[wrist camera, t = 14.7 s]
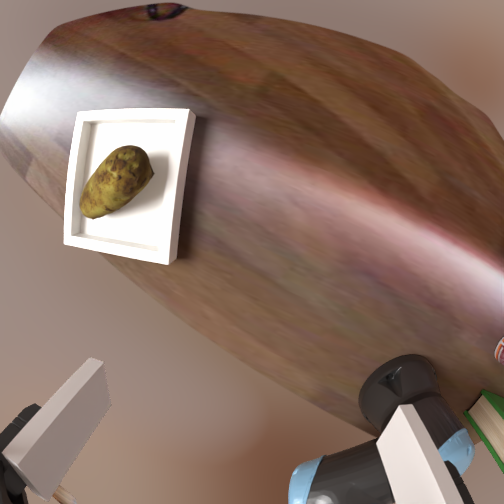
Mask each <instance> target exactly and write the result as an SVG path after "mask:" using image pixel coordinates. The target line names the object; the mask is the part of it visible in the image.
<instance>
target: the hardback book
mask: <svg viewBox="0 0 504 504" xmlns="http://www.w3.org/2000/svg"><path fill="white" fill-rule="evenodd" d="M481 393H482V396H481V397H480V398H479V400H478V401H477V402H476V403H475V405H474V406H473V407H472V408H471V409H470V410H469V411H467V410H465V412H464V415H465V416H466V418H467V419H468V420H469V422H470V423H471V425H472V426H473V428H474V429H475V430H476V432H477V433H478V435H479V436H480V438H481V439H482V441H483V442H484V444H485V445H486V447H487V448H488V450H489V451H490V453H491V454H492V456H493V458H494V459H495V461H496V462H497V464H498V465H499V467H500V469H501V470H502V472H503V474H504V398H502V397H500V396H498V395H495V394H493V393H491V392H488V391H486V390H484V389H483V390H482V391H481Z"/></svg>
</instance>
